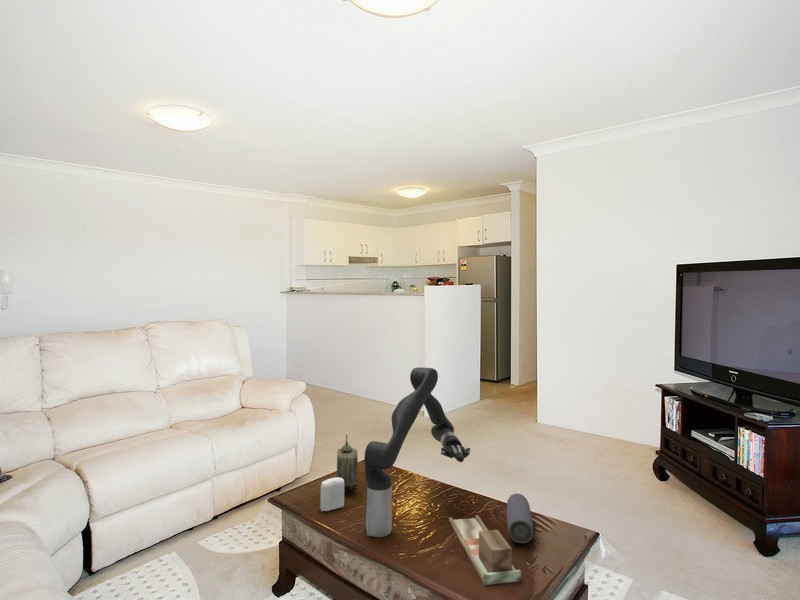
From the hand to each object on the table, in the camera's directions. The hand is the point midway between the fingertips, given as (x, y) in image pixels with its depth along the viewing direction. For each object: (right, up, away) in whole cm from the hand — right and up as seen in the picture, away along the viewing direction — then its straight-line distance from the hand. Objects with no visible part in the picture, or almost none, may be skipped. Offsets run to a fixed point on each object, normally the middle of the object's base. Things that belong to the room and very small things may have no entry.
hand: (461, 459), depth 183 cm
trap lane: (+4, -24, -20) cm, 31 cm away
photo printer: (-52, -24, +9) cm, 58 cm away
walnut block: (+7, -24, -33) cm, 41 cm away
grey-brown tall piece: (-48, -23, +27) cm, 60 cm away
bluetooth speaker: (+21, -24, -9) cm, 33 cm away
